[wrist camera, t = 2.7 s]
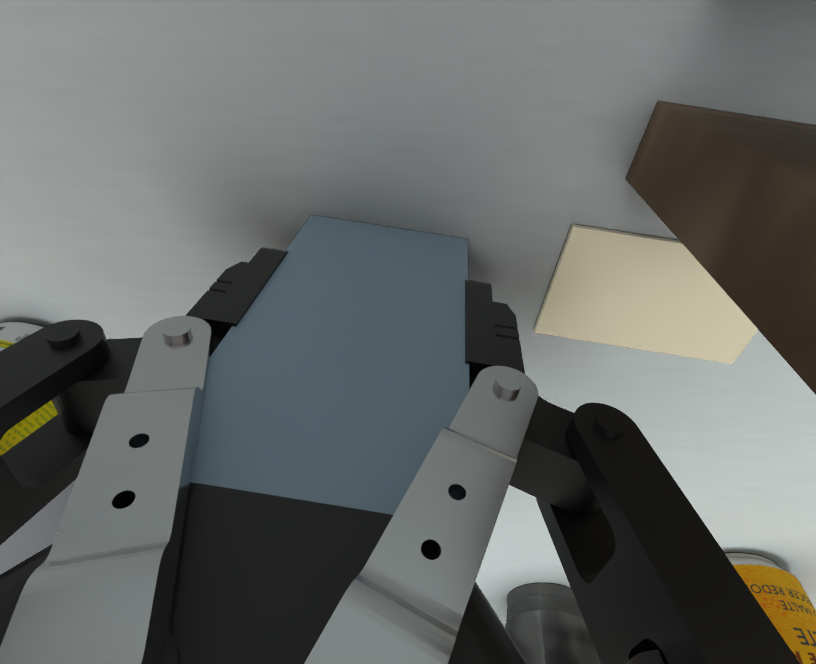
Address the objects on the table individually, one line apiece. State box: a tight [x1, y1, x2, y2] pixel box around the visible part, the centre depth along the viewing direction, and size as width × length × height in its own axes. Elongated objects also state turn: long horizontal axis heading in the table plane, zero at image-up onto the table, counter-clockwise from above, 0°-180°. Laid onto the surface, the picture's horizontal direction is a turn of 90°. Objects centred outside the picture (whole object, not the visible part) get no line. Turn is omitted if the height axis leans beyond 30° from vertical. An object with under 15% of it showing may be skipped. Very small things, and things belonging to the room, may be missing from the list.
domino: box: [190, 215, 469, 515], centre depth 11 cm, size 2×5×10 cm, turn 83°
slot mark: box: [534, 224, 758, 364], centre depth 15 cm, size 4×7×1 cm, turn 83°
